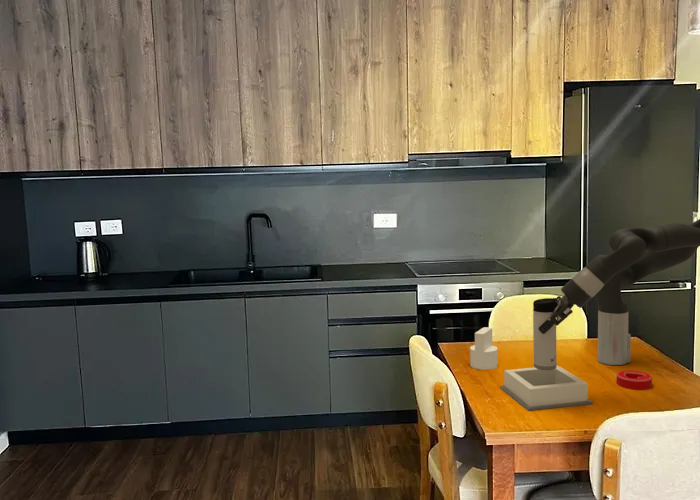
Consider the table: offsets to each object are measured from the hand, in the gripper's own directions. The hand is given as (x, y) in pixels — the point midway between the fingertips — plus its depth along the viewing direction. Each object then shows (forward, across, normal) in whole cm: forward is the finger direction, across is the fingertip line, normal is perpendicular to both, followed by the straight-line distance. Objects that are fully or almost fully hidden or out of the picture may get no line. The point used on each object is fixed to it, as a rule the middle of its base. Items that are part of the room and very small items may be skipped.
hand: (539, 328), depth 178 cm
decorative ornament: (-6, +12, -35) cm, 37 cm away
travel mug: (+7, 0, -9) cm, 12 cm away
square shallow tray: (+13, 0, -15) cm, 20 cm away
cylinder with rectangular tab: (+25, +27, -4) cm, 37 cm away
